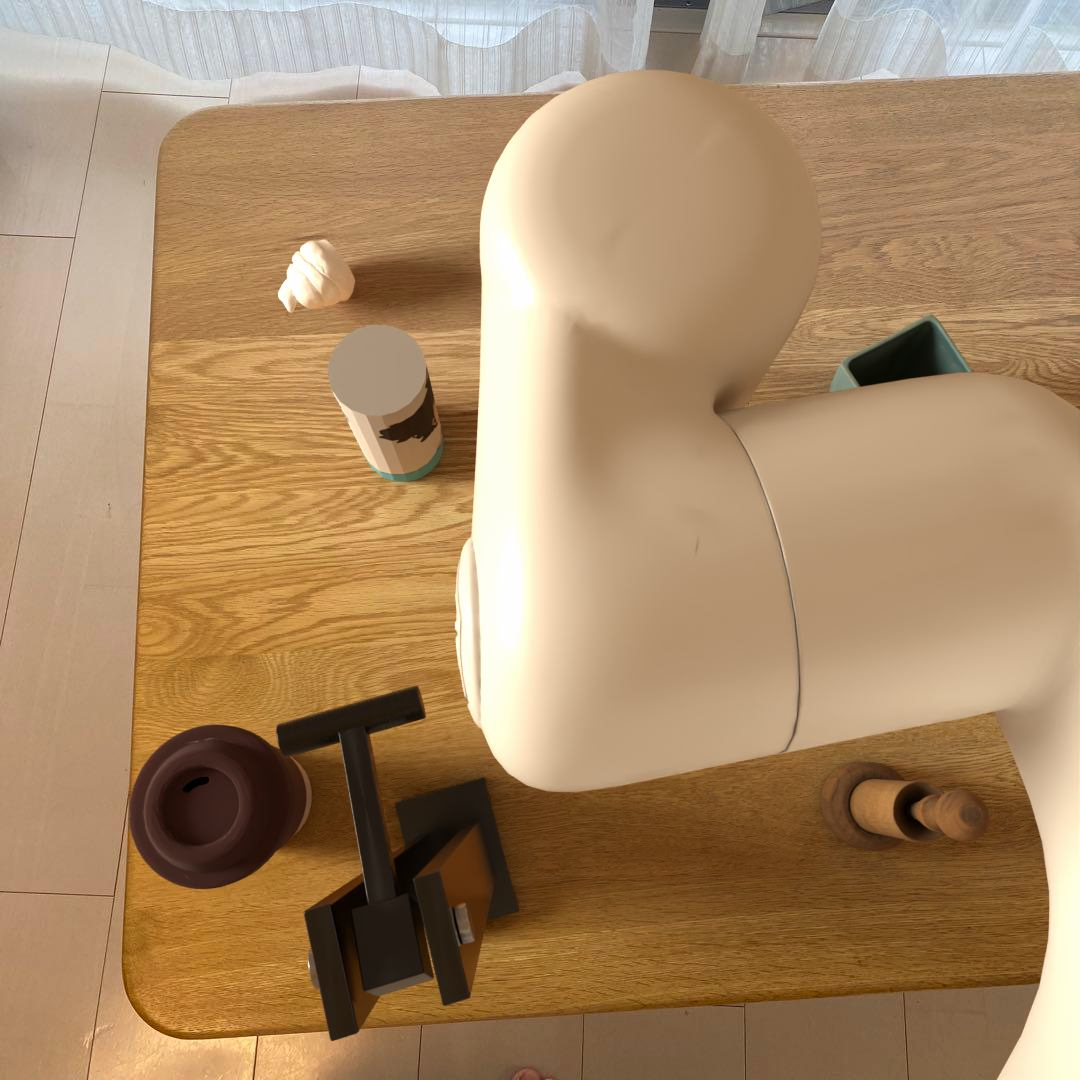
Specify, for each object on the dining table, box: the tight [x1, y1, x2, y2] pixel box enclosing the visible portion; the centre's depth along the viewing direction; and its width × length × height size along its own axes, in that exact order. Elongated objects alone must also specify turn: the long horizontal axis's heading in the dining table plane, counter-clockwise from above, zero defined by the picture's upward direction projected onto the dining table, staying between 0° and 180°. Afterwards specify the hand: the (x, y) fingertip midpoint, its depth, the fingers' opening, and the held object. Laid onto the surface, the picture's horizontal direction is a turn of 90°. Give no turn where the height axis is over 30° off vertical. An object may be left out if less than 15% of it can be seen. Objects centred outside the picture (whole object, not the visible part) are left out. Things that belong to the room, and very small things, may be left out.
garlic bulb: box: [277, 239, 356, 314], centre depth 79 cm, size 6×6×5 cm
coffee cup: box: [128, 724, 313, 890], centre depth 64 cm, size 10×10×15 cm
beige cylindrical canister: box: [327, 324, 445, 483], centre depth 71 cm, size 7×7×15 cm
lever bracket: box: [303, 776, 520, 1042], centre depth 52 cm, size 10×7×39 cm
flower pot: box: [829, 313, 974, 392], centre depth 75 cm, size 9×9×9 cm
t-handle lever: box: [275, 684, 435, 997], centre depth 37 cm, size 11×6×2 cm, turn 16°
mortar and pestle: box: [820, 761, 991, 852], centre depth 63 cm, size 7×6×18 cm
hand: (574, 544), depth 49 cm, fingers closed
